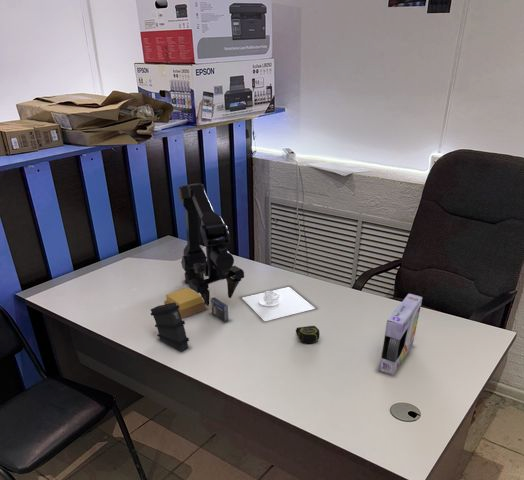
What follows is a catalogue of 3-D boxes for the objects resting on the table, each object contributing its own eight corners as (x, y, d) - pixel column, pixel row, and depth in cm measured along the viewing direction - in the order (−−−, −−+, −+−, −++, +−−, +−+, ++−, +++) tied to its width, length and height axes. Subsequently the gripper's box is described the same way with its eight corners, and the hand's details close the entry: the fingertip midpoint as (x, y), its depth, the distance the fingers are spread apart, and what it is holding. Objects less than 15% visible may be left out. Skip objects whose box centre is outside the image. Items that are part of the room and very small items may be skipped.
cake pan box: (393, 378, 139) (401, 324, 130) (376, 373, 142) (383, 319, 132) (414, 347, 153) (423, 295, 143) (398, 342, 155) (406, 291, 146)
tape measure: (315, 333, 161) (316, 323, 159) (321, 344, 155) (322, 334, 153) (295, 335, 160) (295, 325, 158) (300, 346, 154) (300, 336, 152)
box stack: (191, 299, 183) (189, 286, 180) (206, 309, 176) (204, 295, 173) (165, 309, 177) (163, 295, 174) (179, 319, 171) (177, 305, 168)
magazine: (186, 351, 150) (167, 306, 146) (164, 353, 160) (145, 310, 156) (195, 346, 152) (177, 301, 149) (173, 348, 162) (155, 306, 159)
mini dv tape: (211, 313, 174) (210, 298, 170) (215, 312, 174) (214, 297, 171) (224, 322, 168) (223, 306, 165) (228, 321, 169) (227, 305, 166)
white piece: (276, 295, 185) (276, 285, 182) (286, 304, 178) (286, 293, 176) (254, 300, 181) (254, 290, 179) (264, 309, 175) (263, 299, 173)
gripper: (224, 244, 170) (227, 286, 178) (177, 258, 160) (182, 301, 169) (244, 254, 162) (246, 296, 171) (196, 269, 153) (200, 313, 161)
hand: (218, 301), depth 168 cm, fingers open, 9 cm apart
